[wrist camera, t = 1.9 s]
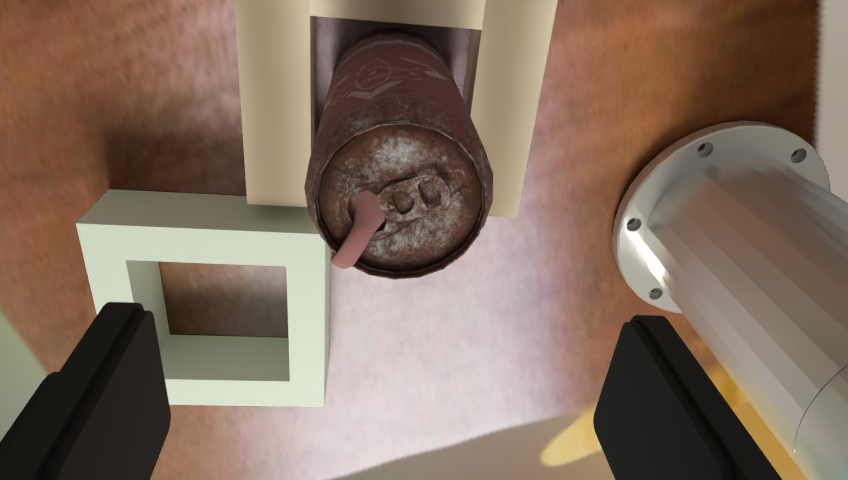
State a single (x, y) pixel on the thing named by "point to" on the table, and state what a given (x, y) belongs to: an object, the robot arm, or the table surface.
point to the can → (396, 161)
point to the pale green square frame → (219, 244)
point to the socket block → (399, 3)
